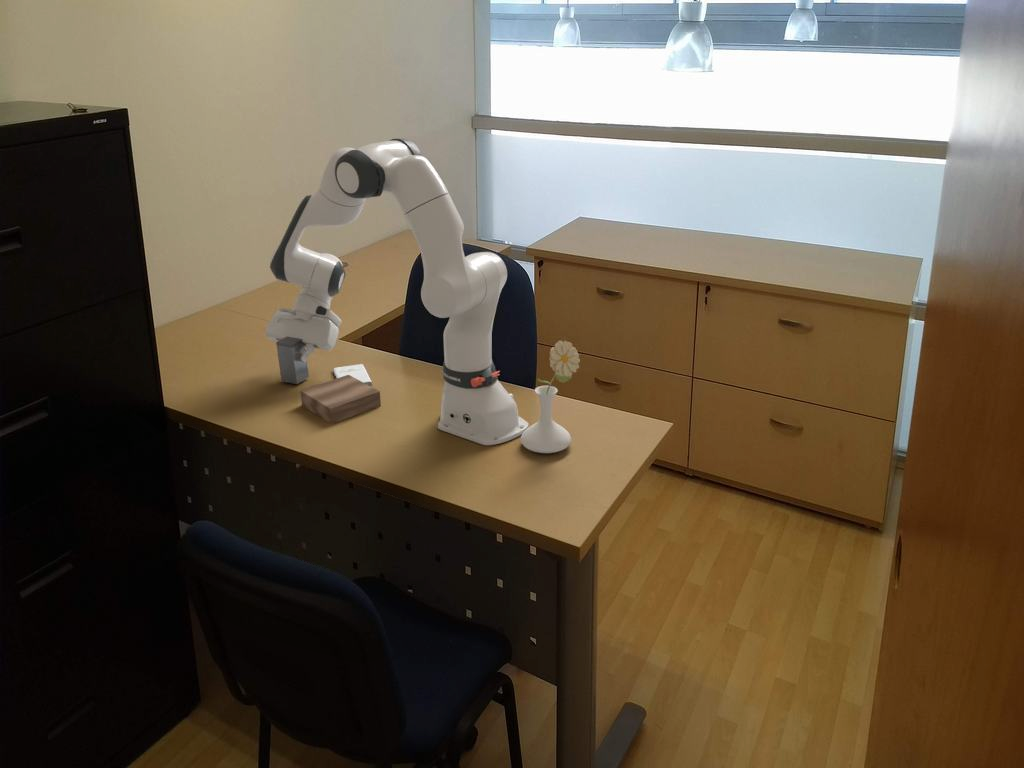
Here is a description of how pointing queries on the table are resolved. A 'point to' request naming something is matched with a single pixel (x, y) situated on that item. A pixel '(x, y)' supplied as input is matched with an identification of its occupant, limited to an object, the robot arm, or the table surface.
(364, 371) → the external hard drive
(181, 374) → the table surface
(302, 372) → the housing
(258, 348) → the table surface
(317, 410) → the stand
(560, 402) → the table surface
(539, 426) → the flower in vase
